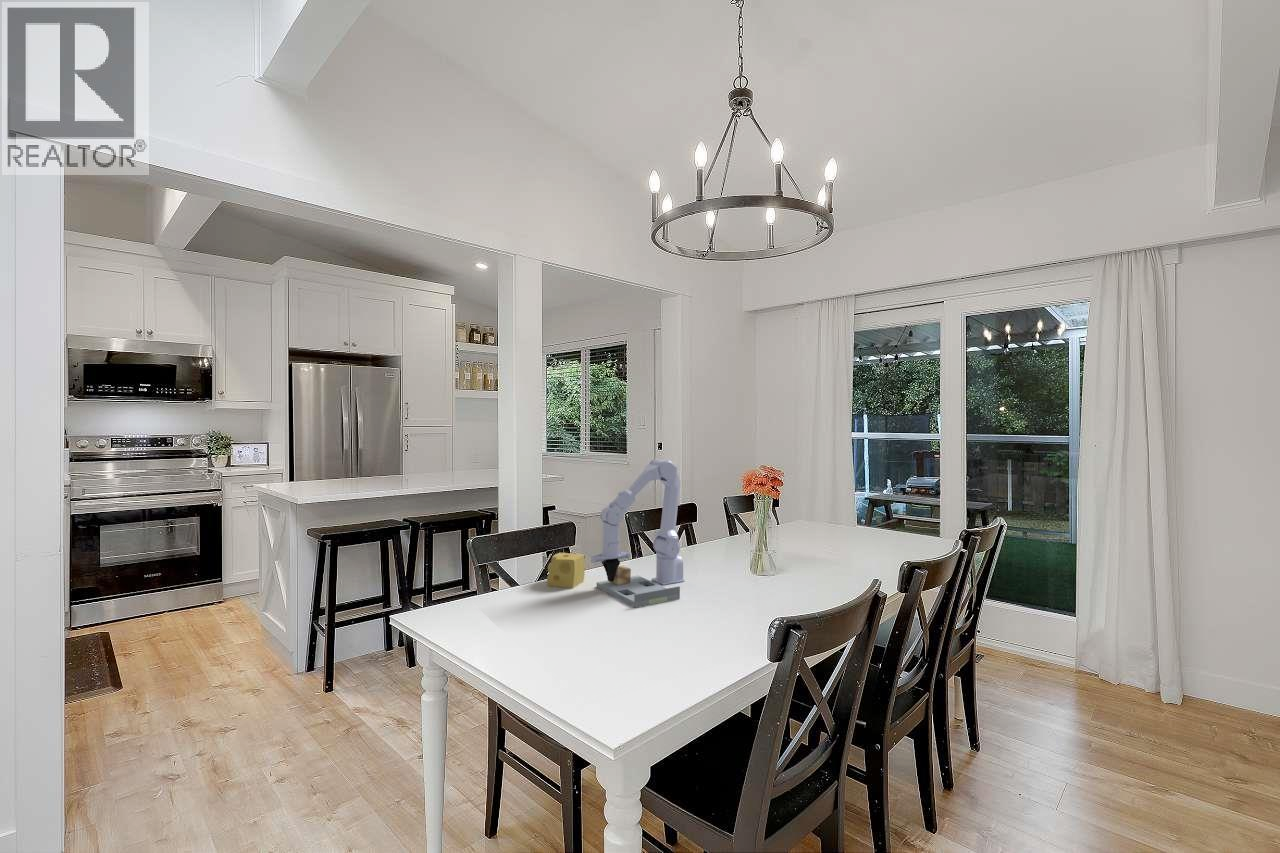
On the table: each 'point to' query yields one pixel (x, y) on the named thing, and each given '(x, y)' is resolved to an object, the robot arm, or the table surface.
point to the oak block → (622, 575)
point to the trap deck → (640, 591)
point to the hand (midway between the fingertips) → (610, 581)
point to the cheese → (566, 570)
